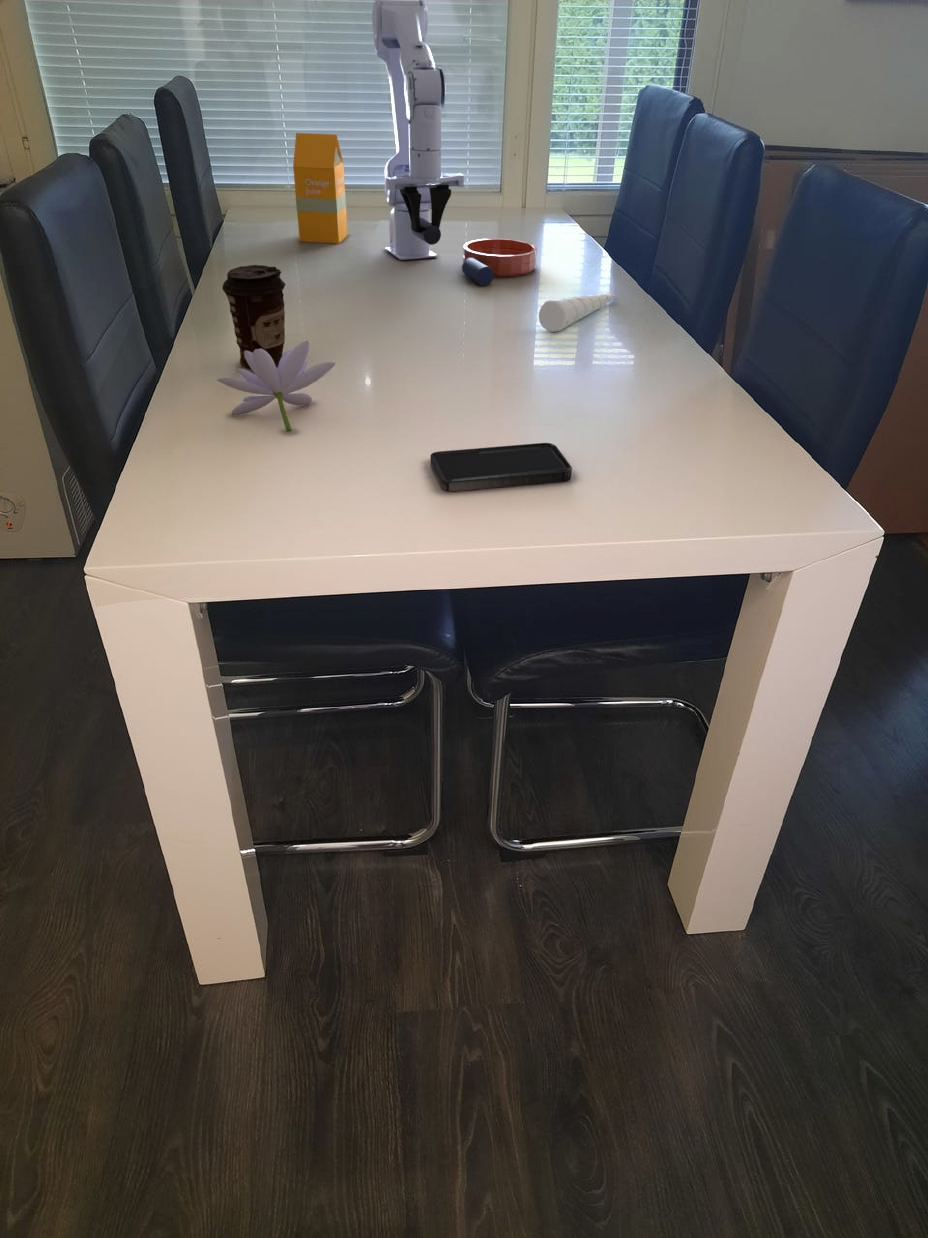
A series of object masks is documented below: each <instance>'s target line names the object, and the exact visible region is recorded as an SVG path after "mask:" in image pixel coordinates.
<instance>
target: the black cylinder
mask: <svg viewBox="0 0 928 1238" xmlns="http://www.w3.org/2000/svg"><path fill="white" fill-rule="evenodd" d="M411 231H412V233H413V234H414V235H415V236H417V237H418V238H420V239H421V240H423V241H425V242H426V243H428V244H430V246H433V245H437V244H438V242H440V240H441V236H442V232H441V228H438V227H437V226H436V225H434V224H432V223H431V221H430V222H429V221H427V220H425V219H424V218H421V217H420V231H419V232H415V231H413V230H412V224H411Z"/></svg>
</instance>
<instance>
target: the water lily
mask: <svg viewBox="0 0 928 1238" xmlns="http://www.w3.org/2000/svg"><path fill="white" fill-rule="evenodd" d="M309 350H310V341H309V340H307V339H306V340H304V341H301V342H300V343H299V344H297V345H296V346H295V347H294V348H292V349H288V350H287V351H285V352H284V353H283V354H282V358H281V359H280V362H279V366H278V369H277V368H276V366H275V364H274V361H273V359H272V357H271V356H270V355H269V354H268V353H267V352H266V351H265V350H263V349H261V348H260V349H255V350H254V352H253V353H252V352H250V351H244V355H245V358H246V361H247V363H248V364H249V366H250V368H251V369H252V371H248V370H245V369H244V368H240V367H239V368H236V371H237V372H238V374H240V376H241V377H242V379H241V378H236V377H220V378H217V379H216V381H217V382H218V383H221V384H223V385H225V386H227V387H230V388H231V389H234V390H238V391H241V392H245V393H249V394H256V395H249V396H245V397H244V398H243V399H242V402H241V403H240V404H238V405H237V406H235V407H234V408H233V409H232V411H231V416H238V415H244V414H249V413H252V412H255V411H258V410H260V409H262V408H264V407H266V406H267V405H269V404H270V403H272V402H273V401H274V400H275V399H277V403H278V406H279V410H280V413H281V418H282V421H283V424H284V429H285V431H286V432H292V427H291V424H290V421H289V417H288V414H287V411H286V408H285V404H284V402H285V403H287V404H289V405H293V406H305V405H309V404H312V401H313V399H312V396H311V395H310V394H308V393H305V392H299V393H295V392H297V391H299V390H303V389H305V388H306V387H308V386H311V385H312V384H314V383H315V382H318V380H320V379H321V378H323V377H324V376H325V375H327V374H328V372H330V371H331V370H332V369H333V368H334V367H335V365H336V362H332V361H331V362H330V361H329V362H323V363H318V364H315V365H314V366H312V367H309V368H308V369H307V367H308V364H309V362H310V360H309V359H307V358H308V355H309ZM243 378H244V379H243Z"/></svg>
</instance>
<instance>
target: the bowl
mask: <svg viewBox="0 0 928 1238" xmlns="http://www.w3.org/2000/svg"><path fill="white" fill-rule="evenodd" d="M462 246H463V248H462V249H463V251H462V253H463V255H462V264H463V263H464V261H465V260H466V259H468V258H474V259H476V260H478V261H479V262H481V263H483V264H484V265H486V266H488V267H490V268H491V269H492V270H493V273H494V277H493V278H513V277H520V276H521V277H522V276H524V275H528V274H530V273H531V272H532V271H534V270H535V269H536V266H537V255H538V254H537V253H538V248H537V246H536V245H535V244H533V243H531V242H527V241H524V240H518V239H513V238H481V239H475V240H470V241H468V242H465V244H464V245H462Z"/></svg>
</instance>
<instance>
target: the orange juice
mask: <svg viewBox="0 0 928 1238" xmlns="http://www.w3.org/2000/svg"><path fill="white" fill-rule="evenodd" d="M294 144H295V145H294V152H293V165H292V168H293V180H294V190H295V191H294V192H295V206H296V213H297V214H296V215H297V227H298V238H299V242H305V243H306V242H308V243H326V244H340V243H341V242H342V241H344V240H345V238H347V237H348V219H347V197H346V196H347V195H346V183H345V182H346V181H345V164H344V160H343V157H342V151H341V147H340V143H339V138H338V135H337V134H330V133H307V132H304V133H303V132H296V133H295V141H294Z"/></svg>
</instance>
